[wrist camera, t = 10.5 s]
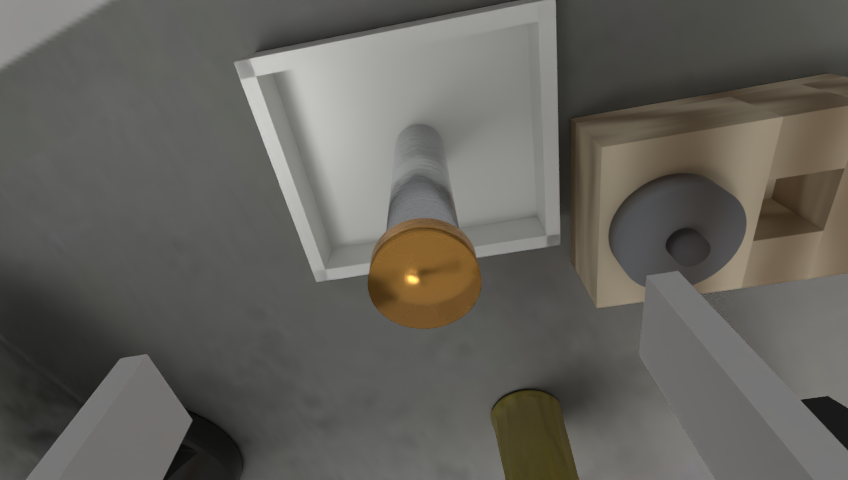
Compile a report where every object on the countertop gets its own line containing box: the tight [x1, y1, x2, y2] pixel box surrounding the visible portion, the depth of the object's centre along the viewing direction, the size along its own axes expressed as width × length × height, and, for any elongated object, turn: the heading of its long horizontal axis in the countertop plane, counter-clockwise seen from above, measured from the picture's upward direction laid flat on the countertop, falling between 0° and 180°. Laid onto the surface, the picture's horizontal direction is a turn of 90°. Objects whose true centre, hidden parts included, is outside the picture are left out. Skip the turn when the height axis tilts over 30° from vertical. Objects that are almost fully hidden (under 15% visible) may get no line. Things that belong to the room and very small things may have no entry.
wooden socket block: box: [570, 73, 848, 308], centre depth 24 cm, size 14×10×8 cm
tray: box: [234, 0, 560, 282], centre depth 24 cm, size 15×13×3 cm
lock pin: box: [368, 124, 481, 329], centre depth 19 cm, size 4×4×13 cm
